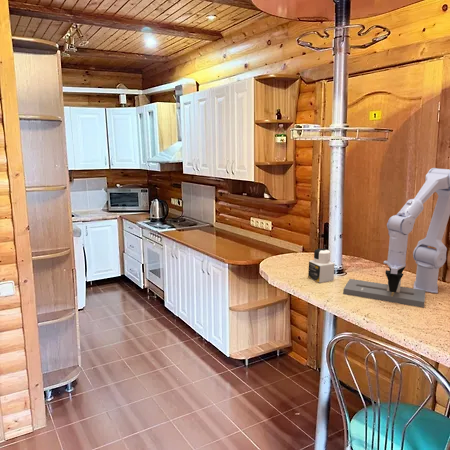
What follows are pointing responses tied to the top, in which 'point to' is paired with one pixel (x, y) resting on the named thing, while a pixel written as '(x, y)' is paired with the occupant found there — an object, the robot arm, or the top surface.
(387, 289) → the fader tab
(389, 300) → the fader console
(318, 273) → the medicine bottle
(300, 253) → the top surface
